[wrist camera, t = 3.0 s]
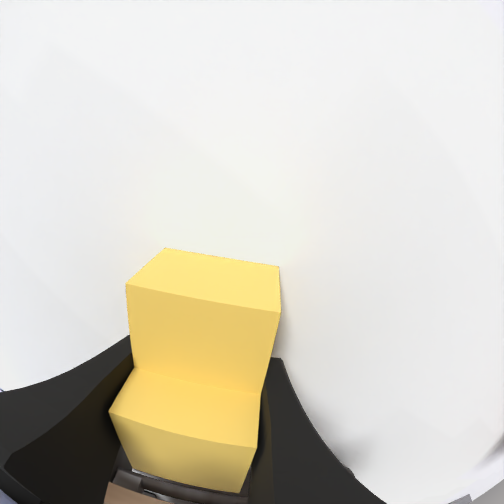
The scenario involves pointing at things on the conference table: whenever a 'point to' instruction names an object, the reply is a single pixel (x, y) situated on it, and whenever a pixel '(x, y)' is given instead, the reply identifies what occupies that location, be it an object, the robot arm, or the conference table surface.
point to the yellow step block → (197, 366)
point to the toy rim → (463, 500)
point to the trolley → (156, 488)
